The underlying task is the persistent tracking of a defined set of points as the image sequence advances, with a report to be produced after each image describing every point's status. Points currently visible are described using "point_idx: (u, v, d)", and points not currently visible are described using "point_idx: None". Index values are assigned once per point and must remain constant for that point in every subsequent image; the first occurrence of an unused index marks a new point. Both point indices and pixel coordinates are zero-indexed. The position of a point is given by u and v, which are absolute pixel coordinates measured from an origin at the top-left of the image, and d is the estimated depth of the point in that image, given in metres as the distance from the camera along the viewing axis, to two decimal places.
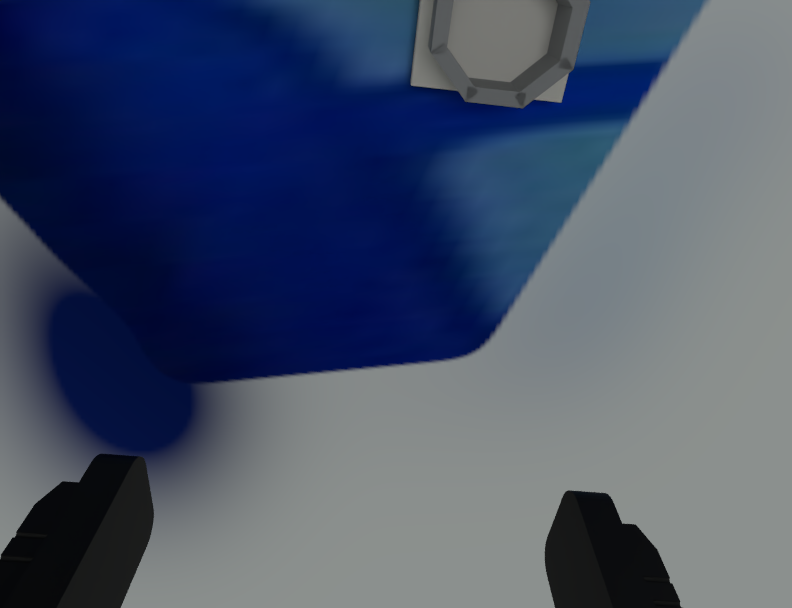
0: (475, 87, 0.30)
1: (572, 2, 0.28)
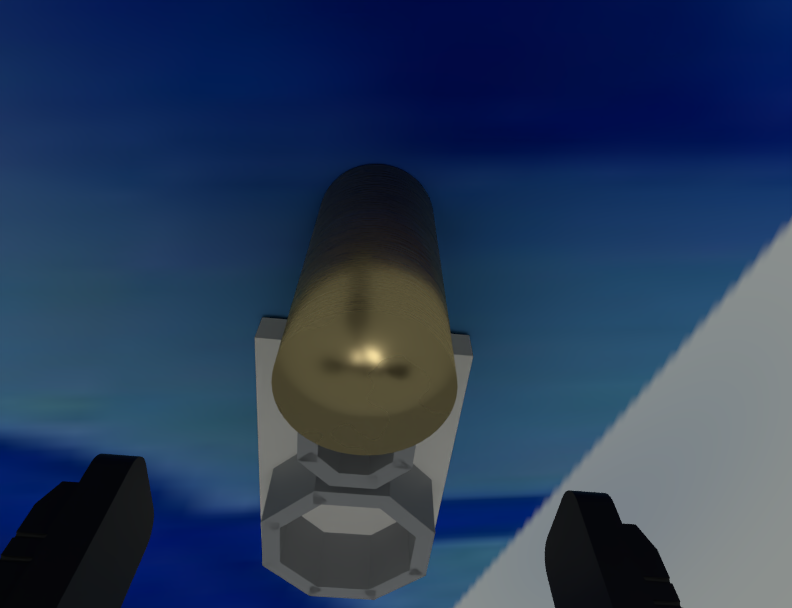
0: (318, 586, 0.27)
1: (414, 533, 0.25)
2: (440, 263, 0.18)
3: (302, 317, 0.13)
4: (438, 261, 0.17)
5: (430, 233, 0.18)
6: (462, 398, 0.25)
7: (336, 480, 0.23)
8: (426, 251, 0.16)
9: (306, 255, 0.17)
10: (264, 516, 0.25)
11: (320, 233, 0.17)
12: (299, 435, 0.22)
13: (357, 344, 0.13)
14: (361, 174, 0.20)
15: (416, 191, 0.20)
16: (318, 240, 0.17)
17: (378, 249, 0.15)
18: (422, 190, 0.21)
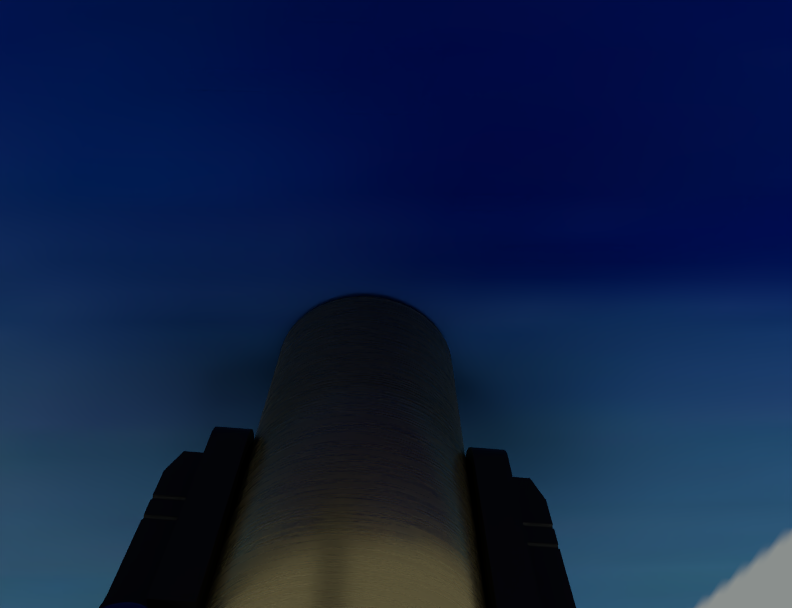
0: None
1: None
2: (470, 499, 0.10)
3: None
4: (469, 512, 0.10)
5: (453, 445, 0.11)
6: None
7: None
8: (450, 518, 0.09)
9: (238, 496, 0.10)
10: None
11: (261, 463, 0.10)
12: None
13: None
14: (340, 320, 0.13)
15: (427, 347, 0.13)
16: (255, 485, 0.09)
17: (358, 564, 0.07)
18: (436, 337, 0.13)
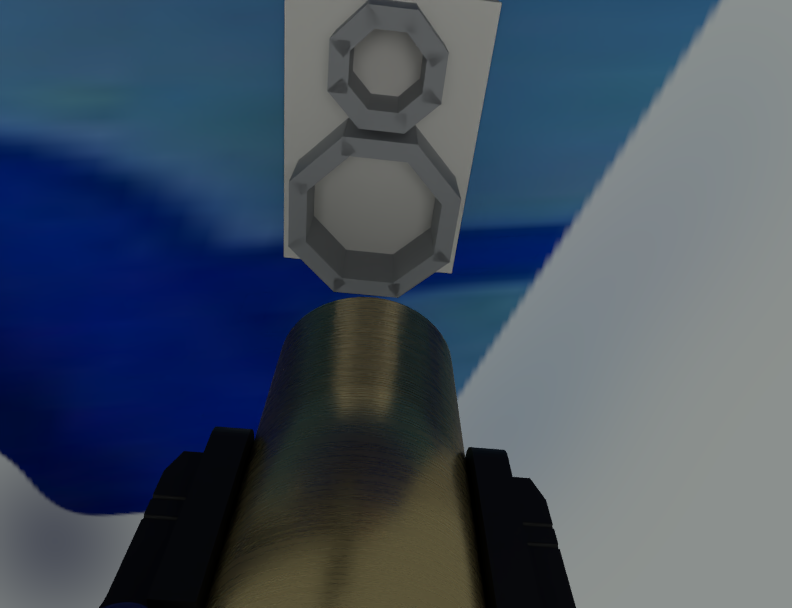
0: (342, 278, 0.27)
1: (441, 199, 0.25)
2: (470, 500, 0.10)
3: None
4: (469, 512, 0.10)
5: (453, 446, 0.11)
6: (489, 62, 0.25)
7: (365, 120, 0.23)
8: (450, 518, 0.09)
9: (238, 497, 0.10)
10: (292, 178, 0.25)
11: (261, 464, 0.10)
12: (330, 53, 0.22)
13: None
14: (340, 320, 0.13)
15: (427, 348, 0.13)
16: (255, 486, 0.09)
17: (359, 565, 0.07)
18: (436, 338, 0.13)
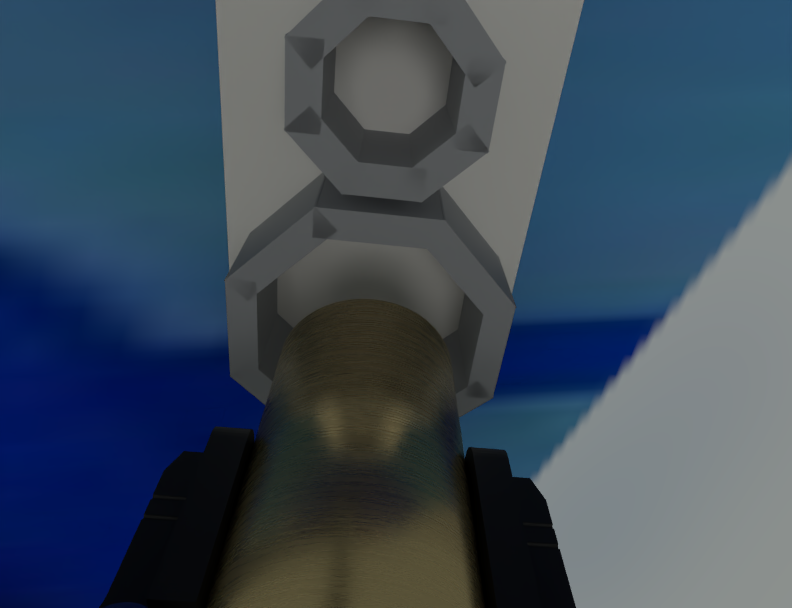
0: None
1: (482, 306, 0.15)
2: (470, 501, 0.10)
3: None
4: (469, 514, 0.10)
5: (453, 448, 0.11)
6: (562, 78, 0.15)
7: (354, 181, 0.13)
8: (450, 520, 0.09)
9: (238, 498, 0.10)
10: (230, 273, 0.15)
11: (261, 466, 0.10)
12: (288, 63, 0.12)
13: None
14: (340, 322, 0.13)
15: (427, 349, 0.13)
16: (255, 488, 0.09)
17: (358, 567, 0.07)
18: (436, 339, 0.13)
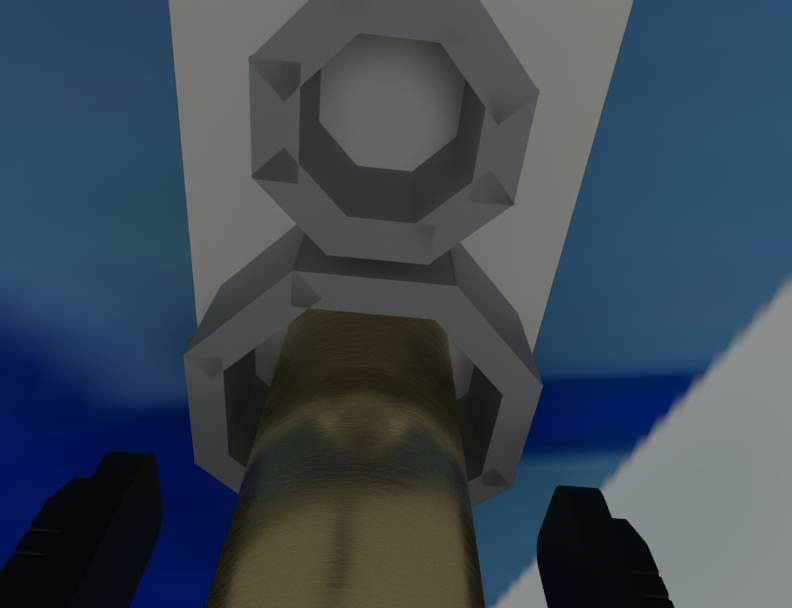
0: None
1: (501, 386, 0.12)
2: (464, 461, 0.11)
3: None
4: (463, 470, 0.11)
5: (449, 411, 0.11)
6: (600, 105, 0.12)
7: (342, 239, 0.10)
8: (445, 472, 0.10)
9: (250, 456, 0.11)
10: (191, 346, 0.12)
11: (271, 425, 0.11)
12: (254, 93, 0.09)
13: None
14: None
15: (425, 324, 0.13)
16: (266, 444, 0.10)
17: (362, 505, 0.08)
18: None
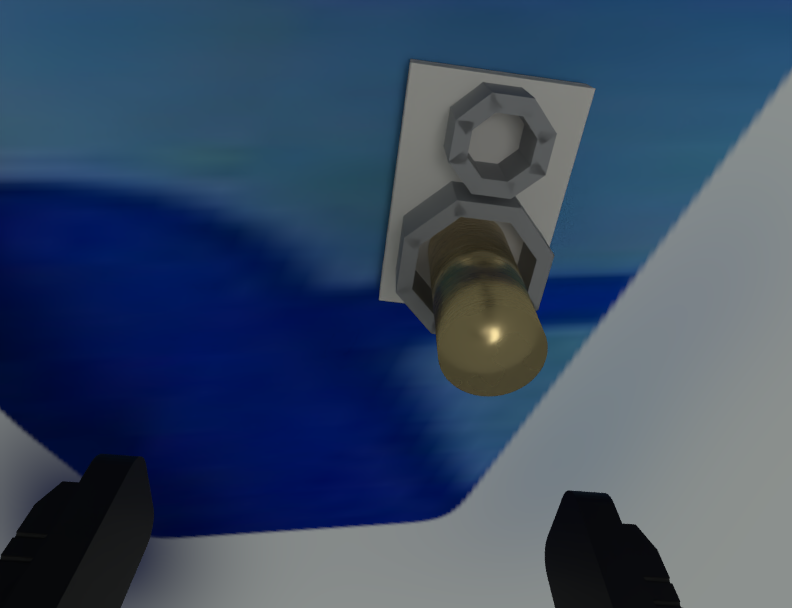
0: None
1: (536, 255, 0.28)
2: None
3: (460, 309, 0.22)
4: None
5: (515, 262, 0.28)
6: (580, 137, 0.28)
7: (478, 187, 0.27)
8: (518, 273, 0.26)
9: (437, 273, 0.27)
10: (406, 234, 0.28)
11: (447, 260, 0.27)
12: (455, 131, 0.25)
13: (493, 325, 0.22)
14: (464, 220, 0.30)
15: (500, 233, 0.30)
16: (448, 264, 0.26)
17: (494, 271, 0.24)
18: (502, 232, 0.30)
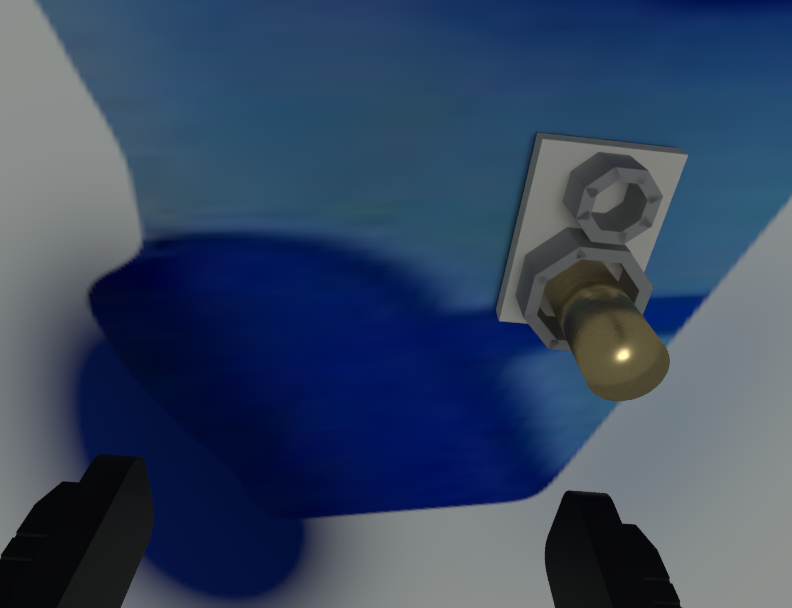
0: (557, 339, 0.38)
1: (639, 287, 0.36)
2: None
3: (603, 336, 0.30)
4: None
5: None
6: (673, 191, 0.35)
7: (597, 237, 0.34)
8: (633, 304, 0.33)
9: (566, 304, 0.34)
10: (536, 273, 0.35)
11: (575, 293, 0.34)
12: (583, 196, 0.32)
13: (630, 347, 0.29)
14: None
15: (607, 268, 0.37)
16: (577, 297, 0.33)
17: (621, 304, 0.32)
18: None
